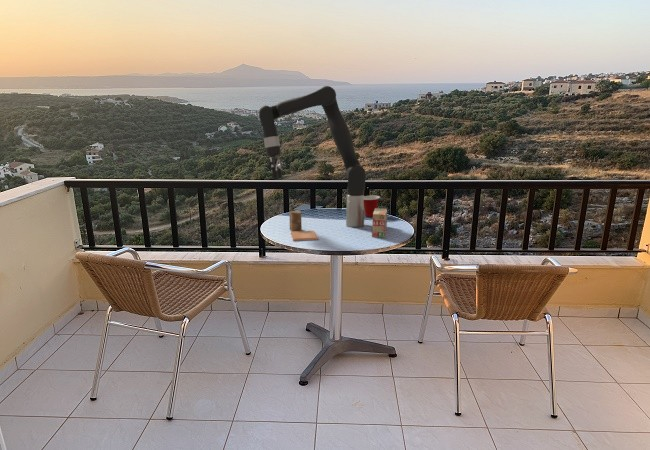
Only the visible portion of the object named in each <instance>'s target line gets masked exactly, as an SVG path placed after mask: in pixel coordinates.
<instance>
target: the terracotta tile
mask: <svg viewBox="0 0 650 450" xmlns="http://www.w3.org/2000/svg"><path fill="white" fill-rule="evenodd" d="M290 235H292V236H291V239H292V240H293V242H300V241H299V240H304V241H318V240H319V237H318V235H317V233H316V231H315V230H302V231H290Z"/></svg>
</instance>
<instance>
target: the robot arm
mask: <svg viewBox="0 0 650 450" xmlns="http://www.w3.org/2000/svg"><path fill="white" fill-rule="evenodd" d="M320 106H321V107H322V109H323V111H324V113H325V116H326V118H327V123H328V127H329V130H330V134H331V136H332V139H333V142H334V144H335V146H336V149H337V151H338V152H339V154H340V156H341V158H342V161H343V165H344V168H345V172H346V177H347V188H346V209H345V210H346V211H345V212H346V213H345V214H346V215H345V216H346V218H345V225H346V226H347V227H349V228H360V227H364V226H365V210H364V196H365V190H366V175H367V174H366V170H365V168H364V167H363V166H362V165H361V164H360V162H359V159H358V157H357V155H356V153H355V146H354V141H353V137H352V134H351V131H350V128H349V126H348V125H347V122H346V121H345V118H344V116H343V115H342V113H341V111H340V108H339V105H338V101H337V92H336V90H335V89H334V88H333V87H332V86H329V85H324V86H322V87H320V88H319V89H317V90H315V91H313V92H310V93H308V94H306V95H302V96H297V97H292V98H289V99H286V100H283V101H279V102H278V103H277V104H274V105H271V106H269V105H262V106H261V107H260V108H259V110H258V115H259V120H260V121H259V122H260V123H261V127H262V132H263V133H262V134H263V138H264V139H263V140H264V142H263V143H264V147H265V153H266V156H267V157H268V164H269V170H270V171H271V172H272V178H273V179H277V178H282V177H283V174H282V169H283V165H282V158H281V156H280V155H282V149H281V145H280V140H279V136H278V135H279V133H278V129H277V126H276V124H275V123H276V122H275V120H276V119H280V118H281V117H284V116H289V115H292V114H296V113H299V112H302V111H303V110H307V109H309V108H314V107H320Z"/></svg>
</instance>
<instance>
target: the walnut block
mask: <svg viewBox="0 0 650 450" xmlns="http://www.w3.org/2000/svg"><path fill="white" fill-rule="evenodd" d="M288 212H289V213H288V215H289V230H290V232H292V231H303V230H302V211H300V210H298V209H297V210H289V211H288Z"/></svg>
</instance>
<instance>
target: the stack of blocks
mask: <svg viewBox="0 0 650 450" xmlns="http://www.w3.org/2000/svg"><path fill="white" fill-rule="evenodd" d="M387 225H388V210H387V208H379V207H377V208H375V210H374V213H373V217H372V225H371V227H372V231H371V237H372V238H378V239H379V238H381V239H385V237H386V233H387V232H386V230H387Z"/></svg>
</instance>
